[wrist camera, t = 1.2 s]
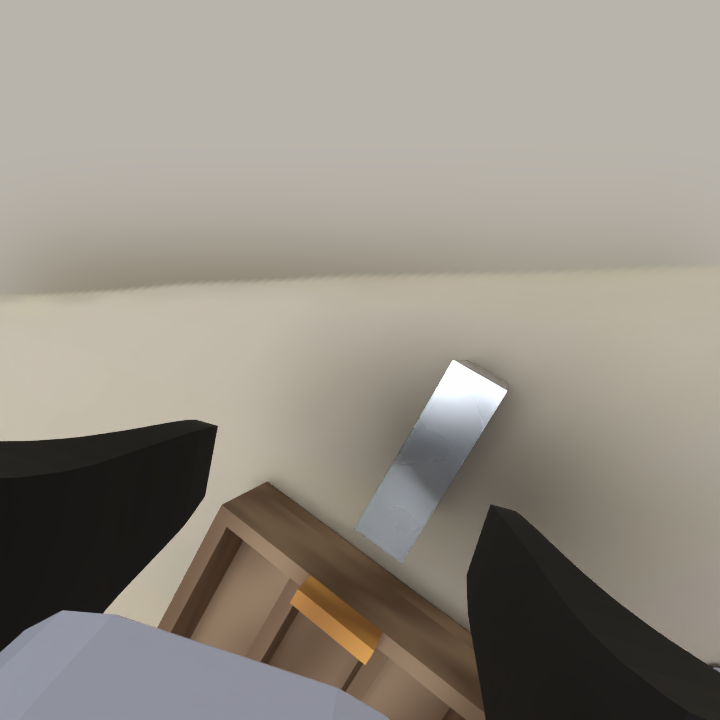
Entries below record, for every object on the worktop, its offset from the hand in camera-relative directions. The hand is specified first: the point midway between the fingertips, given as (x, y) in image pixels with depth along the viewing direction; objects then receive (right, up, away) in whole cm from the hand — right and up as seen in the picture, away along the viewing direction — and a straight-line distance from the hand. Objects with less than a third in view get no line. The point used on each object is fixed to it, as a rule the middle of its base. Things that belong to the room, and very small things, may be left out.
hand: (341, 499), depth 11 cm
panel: (+5, 0, +10) cm, 11 cm away
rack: (-2, -11, +12) cm, 16 cm away
